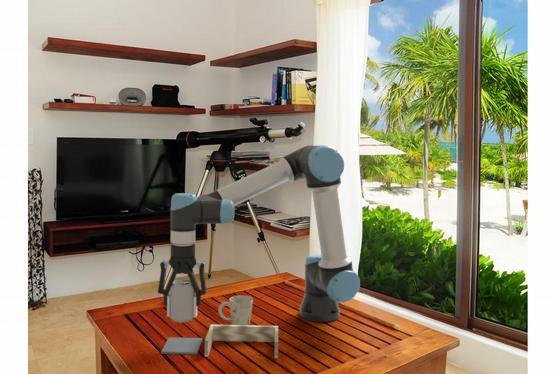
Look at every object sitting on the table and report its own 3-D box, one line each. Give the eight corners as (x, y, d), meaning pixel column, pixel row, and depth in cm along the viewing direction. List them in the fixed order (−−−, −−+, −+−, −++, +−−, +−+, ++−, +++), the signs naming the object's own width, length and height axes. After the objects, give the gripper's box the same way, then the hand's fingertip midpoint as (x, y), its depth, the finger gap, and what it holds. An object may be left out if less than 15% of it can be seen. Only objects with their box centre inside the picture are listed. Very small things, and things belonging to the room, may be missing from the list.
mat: (202, 339, 157) (202, 338, 157) (197, 354, 146) (197, 352, 146) (168, 339, 157) (168, 337, 157) (160, 353, 146) (160, 351, 146)
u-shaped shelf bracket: (277, 340, 157) (278, 325, 157) (277, 358, 144) (278, 342, 144) (210, 339, 157) (210, 324, 157) (204, 356, 144) (204, 340, 144)
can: (182, 325, 145) (183, 286, 144) (164, 320, 149) (165, 282, 148) (199, 318, 152) (199, 280, 151) (181, 313, 155) (182, 276, 154)
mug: (249, 332, 164) (249, 303, 163) (214, 328, 166) (214, 300, 166) (255, 323, 172) (255, 296, 171) (221, 320, 174) (221, 293, 174)
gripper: (217, 241, 152) (216, 312, 154) (153, 240, 152) (152, 310, 154) (214, 246, 145) (213, 320, 147) (146, 245, 145) (146, 319, 147)
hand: (182, 315), depth 150 cm, fingers closed on can, 7 cm apart
